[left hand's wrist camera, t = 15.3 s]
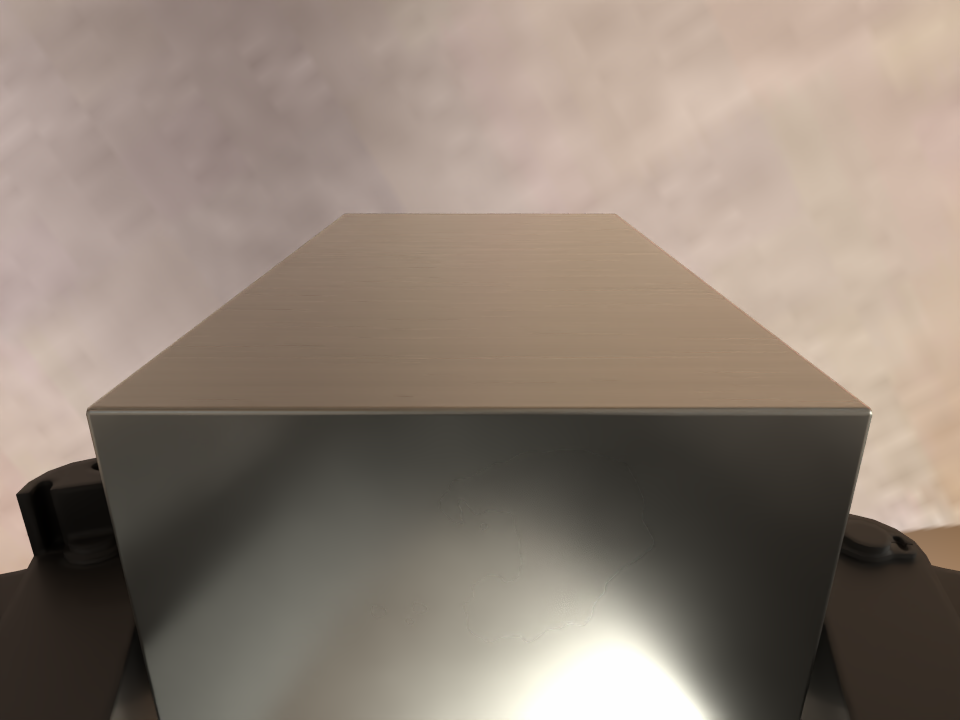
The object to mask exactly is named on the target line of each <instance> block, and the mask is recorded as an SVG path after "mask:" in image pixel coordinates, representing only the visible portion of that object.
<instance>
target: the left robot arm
mask: <svg viewBox="0 0 960 720" xmlns="http://www.w3.org/2000/svg"><path fill="white" fill-rule="evenodd" d="M16 496H17V500H18V503H19V506H20V510H21V513H22V517H23V520H24V523H25V527H26V530H27V533H28V537H29V540H30V544H31V547H32V550H33V554H34V557H33V559H32V561H31V563H30V565H29V566H28V568H27V569H24V570H20V571H15V572H10V573H5V574H0V720H158V717H157V713H156V708H155V704H154V700H153V696H152V691H151V687H150V683H149V679H148V675H147V670H146V666H145V662H144V658H143V653H142V649H141V645H140V641H139V636H138V632H137V628H136V624H135V619H134V615H133V611H132V607H131V602H130V598H129V594H128V590H127V585H126V581H125V577H124V573H123V568H122V564H121V560H120V556H119V551H118V547H117V543H116V539H115V534H114V530H113V526H112V522H111V517H110V513H109V509H108V505H107V500H106V496H105V492H104V488H103V483H102V479H101V475H100V471H99V466H98V462H97V458H93V459H88V460H83V461H78V462H73V463H70V464H67V465H64V466H62V467H59V468H56V469H53V470H50V471H48V472H46V473H44V474H43V475H41V476H39V477H37V478H35V479H34V480H32V481H30V482H28V483H27V484H26V485H25V486H24V487H23V488H22V489H21V490H20V491H19V492H18V493H17V494H16ZM801 720H960V571H956V570H950V569H945V568H941V567H936V566H933V565H931V563H930V561H929V560H928V558H927V556H926V554H925V553H924V552H923V551H922V550H921V548H920V547H919V546H918V545H917V544H916V543H915V541H913V540H912V539H910V538H909V537H907V536H906V535H904V534H903V533H901V532H900V531H898V530H897V529H895V528H892V527H890V526H888V525H885V524H883V523H881V522H878V521H876V520H873V519H869V518H865V517H861V516H857V515H852V514H849V516H848V520H847V524H846V529H845V533H844V537H843V541H842V546H841V550H840V554H839V558H838V563H837V567H836V571H835V575H834V580H833V584H832V588H831V592H830V597H829V601H828V605H827V609H826V614H825V618H824V622H823V626H822V631H821V635H820V639H819V643H818V648H817V652H816V656H815V660H814V665H813V669H812V673H811V677H810V682H809V686H808V690H807V694H806V699H805V703H804V707H803V711H802V716H801Z"/></svg>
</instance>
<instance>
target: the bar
mask: <svg viewBox="0 0 960 720" xmlns="http://www.w3.org/2000/svg"><path fill="white" fill-rule="evenodd" d="M86 416H87V420H88V424H89V428H90V433H91V437H92V441H93V445H94V450H95V454H96V458H97V462H98V466H99V471H100V475H101V479H102V483H103V488H104V492H105V496H106V500H107V505H108V509H109V513H110V517H111V522H112V526H113V530H114V534H115V539H116V543H117V547H118V551H119V556H120V560H121V564H122V568H123V573H124V577H125V581H126V585H127V590H128V594H129V598H130V602H131V607H132V611H133V615H134V619H135V624H136V628H137V632H138V636H139V641H140V645H141V649H142V653H143V658H144V662H145V666H146V670H147V675H148V679H149V683H150V687H151V691H152V696H153V700H154V704H155V708H156V713H157V717H158V720H801V716H802V711H803V707H804V703H805V699H806V694H807V690H808V686H809V682H810V677H811V673H812V669H813V665H814V660H815V656H816V652H817V648H818V643H819V639H820V635H821V631H822V626H823V622H824V618H825V614H826V609H827V605H828V601H829V597H830V592H831V588H832V584H833V580H834V575H835V571H836V567H837V563H838V558H839V554H840V550H841V546H842V541H843V537H844V533H845V529H846V524H847V520H848V516H849V512H850V507H851V503H852V499H853V495H854V490H855V486H856V482H857V478H858V473H859V469H860V465H861V461H862V456H863V452H864V448H865V444H866V439H867V435H868V431H869V427H870V422H871V418H872V411H871V408H869V407H868V406H867V405H865V404H864V403H863V402H862V401H860V400H859V399H858V398H856V397H855V396H854V395H852V394H851V393H850V392H848V391H847V390H846V389H844V388H843V387H842V386H841V385H839V384H838V383H837V382H835V381H834V380H833V379H831V378H830V377H829V376H827V375H826V374H825V373H824V372H822V371H821V370H820V369H818V368H817V367H816V366H814V365H813V364H812V363H810V362H809V361H808V360H806V359H805V358H804V357H803V356H801V355H800V354H799V353H797V352H796V351H795V350H793V349H792V348H791V347H789V346H788V345H787V344H786V343H784V342H783V341H782V340H780V339H779V338H778V337H776V336H775V335H774V334H772V333H771V332H770V331H769V330H767V329H766V328H765V327H763V326H762V325H761V324H759V323H758V322H757V321H755V320H754V319H753V318H751V317H750V316H749V315H748V314H746V313H745V312H744V311H742V310H741V309H740V308H738V307H737V306H736V305H734V304H733V303H732V302H731V301H729V300H728V299H727V298H725V297H724V296H723V295H721V294H720V293H719V292H717V291H716V290H715V289H713V288H712V287H711V286H710V285H708V284H707V283H706V282H704V281H703V280H702V279H700V278H699V277H698V276H696V275H695V274H694V273H693V272H691V271H690V270H689V269H687V268H686V267H685V266H683V265H682V264H681V263H679V262H678V261H677V260H675V259H674V258H673V257H672V256H670V255H669V254H668V253H666V252H665V251H664V250H662V249H661V248H660V247H658V246H657V245H656V244H655V243H653V242H652V241H651V240H649V239H648V238H647V237H645V236H644V235H643V234H641V233H640V232H639V231H638V230H636V229H635V228H634V227H632V226H631V225H630V224H628V223H627V222H626V221H624V220H623V219H622V218H620V217H619V216H618V215H617V214H344V215H343V216H341V217H340V218H339V219H337V220H336V221H335V222H333V223H332V224H331V225H329V226H328V227H327V228H325V229H324V230H323V231H321V232H320V233H319V234H317V235H316V236H315V237H313V238H312V239H311V240H309V241H308V242H307V243H305V244H304V245H303V246H301V247H300V248H299V249H298V250H296V251H295V252H294V253H292V254H291V255H290V256H288V257H287V258H286V259H284V260H283V261H282V262H280V263H279V264H278V265H276V266H275V267H274V268H272V269H271V270H270V271H268V272H267V273H266V274H264V275H263V276H262V277H260V278H259V279H258V280H256V281H255V282H254V283H253V284H251V285H250V286H249V287H247V288H246V289H245V290H243V291H242V292H241V293H239V294H238V295H237V296H235V297H234V298H233V299H231V300H230V301H229V302H227V303H226V304H225V305H223V306H222V307H221V308H219V309H218V310H217V311H215V312H214V313H213V314H211V315H210V316H209V317H207V318H206V319H205V320H204V321H202V322H201V323H200V324H198V325H197V326H196V327H194V328H193V329H192V330H190V331H189V332H188V333H186V334H185V335H184V336H182V337H181V338H180V339H178V340H177V341H176V342H174V343H173V344H172V345H170V346H169V347H168V348H166V349H165V350H164V351H162V352H161V353H160V354H159V355H157V356H156V357H155V358H153V359H152V360H151V361H149V362H148V363H147V364H145V365H144V366H143V367H141V368H140V369H139V370H137V371H136V372H135V373H133V374H132V375H131V376H129V377H128V378H127V379H125V380H124V381H123V382H121V383H120V384H119V385H117V386H116V387H115V388H113V389H112V390H111V391H110V392H108V393H107V394H106V395H104V396H103V397H102V398H100V399H99V400H98V401H96V402H95V403H94V404H92V405H91V406H90V407H88V409H87V413H86Z"/></svg>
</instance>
